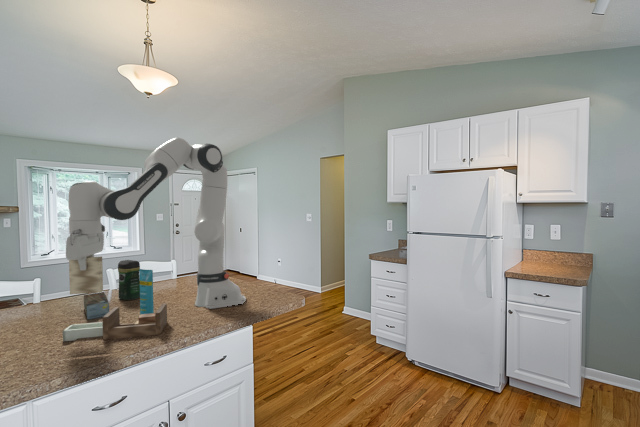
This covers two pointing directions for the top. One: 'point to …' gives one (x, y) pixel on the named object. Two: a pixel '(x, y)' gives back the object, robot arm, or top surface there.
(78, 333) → the tray
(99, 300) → the beverage carton
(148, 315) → the offcut short
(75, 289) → the sheet
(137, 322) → the block
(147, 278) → the tube
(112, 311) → the rack
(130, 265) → the coffee jar
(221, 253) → the robot arm
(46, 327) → the top surface
